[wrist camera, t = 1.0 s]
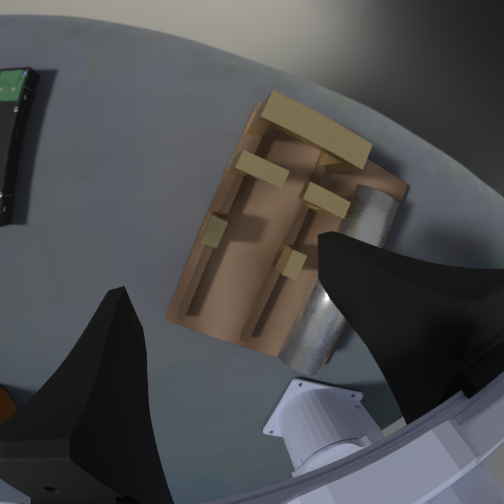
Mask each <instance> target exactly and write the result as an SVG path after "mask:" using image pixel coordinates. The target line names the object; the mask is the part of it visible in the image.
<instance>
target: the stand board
mask: <svg viewBox="0 0 504 504" xmlns="http://www.w3.org/2000/svg"><path fill="white" fill-rule="evenodd" d="M261 105H262V102H259V101H258V102H257V104H256V106H255V108H254V110H253V112H252V114H251V116H250V118H249V120H248V122H247V125H246V127H245V129H244V131H243V133H242V135H241V137H240V139H239V142H238V144H237V146H236V148H235V150H234V153H233V155H232V157H231V159H230V161H229V164H228V166H227V168H226V170H225V172H224V175H223V177H222V179H221V182H220V184H219V186H218V188H217V191H216V193H215V195H214V198H213V200H212V202H211V205H210V207H209V209H208V212H207V214H206V216H205V219H204V221H203V223H202V226H201V228H200V231H199V233H198V235H197V238H196V240H195V243H194V245H193V248H192V250H191V253H190V255H189V258H188V260H187V263H186V265H185V268H184V270H183V273H182V275H181V278H180V280H179V283H178V285H177V288H176V291H175V293H174V296H173V298H172V301H171V304H170V306H169V309H168V312H167V314H166V318H165V320H167V321H170V322H173V323H175V324H178V325H181V326H184V327H186V328H189V329H192V330H195V331H198V332H200V333H203V334H206V335H209V336H212V337H215V338H218V339H221V340H224V341H227V342H230V343H233V344H236V345H239V346H242V347H246V348H249V349H252V350H255V351H259V352H262V353H265V354H268V355H272V356H275V357H278V354H277V353H278V351H279V349H280V347H281V345H282V343H283V341H284V339H285V337H286V336H287V334H288V332H289V330H290V328H291V326H292V324H293V322H294V320H295V318H296V316H297V314H298V312H299V310H300V308H301V306H302V304H303V302H304V300H305V297H306V295H307V293H308V291H309V289H310V287H311V285H312V283H313V281H314V279H315V277H316V275H317V272H318V234H322V233H325V232H329V231H335V232H336V231H337V229H338V226H339V224H340V222H341V219H342V218H338V217H334V216H330V215H325V214H321V213H317V212H313V211H310V210H309V209H308V208H306V206H307V202H305V201H303V200H301V199H299V195H300V193H301V191H302V189H303V186H304V184H305V182H312V183H314V184H316V185H318V186H320V187H322V188H324V189H326V190H328V191H330V192H332V193H334V194H336V195H338V196H340V197H341V198H343V199H345V200H347V201H350V199H351V196H352V194H353V191H354V189H355V187H356V185H357V184H361V185H365V186H369V187H372V188H374V189H377V190H379V191H381V192H383V193H385V194H387V195H389V196H390V197H392V198H393V199H395V200H396V201H397V202H398V203H399V205H398V208H397V210H396V213H395V215H394V218H393V220H392V222H391V225H390V227H389V230H388V232H387V234H386V237H385V239H384V241H383V244H382V246H381V248H383V246H384V244H385V241H386V239H387V237H388V234H389V232H390V229H391V227H392V225H393V222H394V220H395V217H396V215H397V212H398V210H399V207H400V204H401V202H402V199H403V197H404V194H405V191H406V189H407V186H408V185H407V184H406V183H404V182H403V181H401V180H400V179H398V178H397V177H395V176H394V175H392V174H391V173H389V172H388V171H386V170H385V169H383V168H381V167H380V166H378V165H377V164H375V163H373V162H372V161H370V160H368V159H367V160H366V163H365V165H364V168H363V170H353V171H341V172H329V173H327V172H325V170H326V169H325V168H323V167H322V166H316V164H317V160H318V159H319V156H320V155H321V151H320V150H318V149H317V148H315V147H313V146H311V145H309V144H307V143H305V142H303V141H301V140H299V139H297V138H295V137H293V136H291V135H289V134H287V133H285V132H283V131H281V130H279V129H277V128H275V127H274V128H273V129H272V130H270V131H269V132H268V133H267V134H265V135H264V136H263V137H261V136H259V135H256V134H254V135H253V136H251V135H249V134H247V133H246V132H247V130H248V127H249V125H250V123H251V121H252V119H253V117H254V115H255V113H256V111H257V110H258V109H259V107H260V106H261ZM242 150H245V151H247V152H249V153H252V154H254V155H256V156H258V157H260V158H263V159H265V160H267V161H269V162H271V163H273V164H275V165H278V166H280V167H282V168H284V169H286V170H288V171H290V172H289V174H288V176H287V178H286V181H285V183H284V185H283V187H282V189H278V188H276V187H274V186H271V185H269V184H267V183H265V182H263V181H260V180H258V179H256V178H254V177H252V176H249V175H245V176H242V177H239V176H233V175H231V174H229V173H227V170H228V168H229V166H230V164H231V161H232V159H233V158H234V157H235V156H237V155H238V154H239V153H240V152H241V151H242ZM210 212H212V213H214V214H217V215H218V216H219V217H222V218H224V219H226V220H227V222H228V224H227V226H226V228H225V231H224V233H223V235H222V238H221V240H220V242H219V245H218V247H217V248H214V247H212V246H209V245H207V244H205V243H202V242H201V234H202V231H203V229H204V227H205V224H206V222H207V219H208V217H209V215H210ZM281 243H284V244H285V245H288V246H290V247H294V248H296V249H297V250H299V251H300V252H302V253H304V254H305V255H307V258H306V260H305V262H304V264H303V267H302V269H301V271H300V273H299V275H298V277H297V279H296V280H294V279H292V278H289V277H287V276H284V275H282V274H281V273H280V272H279V271H278V270H277V269H276V265H275V264H277V262H278V261H277V259H278V260H279V258H280V256H279V257H278V256H277V255H276V254H278V251H280V250H279V249H280V245H281ZM282 251H283V250H281V252H282ZM281 252H280V253H279V254H280V255H281ZM276 257H278V258H277V259H276V261H275V258H276ZM274 261H275V263H274ZM273 264H274V265H273ZM347 322H348V321H347V320H346V321H345V323H344V325H343V327H342V329H341V330H340V332H339V334H338V336H337V338H336V340H335V342H334V343H333V345H332V347H331V349H330V351H329V352H328V354H327V356H326V358H325V360H324V361H323V363H322V365H321V367H320V368H319V369H322V368H323V366H324V364H325V363H326V361H327V359H328V357H329V356H330V354H331V352H332V350H333V348H334V347H335V345H336V343H337V341H338V339H339V337H340V335H341V333H342V332H343V330H344V328H345V326H346V324H347Z"/></svg>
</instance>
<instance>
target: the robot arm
mask: <svg viewBox="0 0 504 504" xmlns="http://www.w3.org/2000/svg"><path fill="white" fill-rule="evenodd" d="M318 279H319V281H320V283H321V285H322V286H323V288H324V290H325V292H326V293H327V295H328V297H329V298H330V300H331V301H332V302H333V304H334V305H335V306H336V307H337V309H338V310H339V311H340V312H341V314H342V315H343V316H344V317H345V319H346V320H347V321H348V322H349V324H350V325H351V326H352V327H353V329H354V330H355V331H356V332H357V334H358V335H359V336H360V338H361V339H362V340H363V342H364V343H365V345H366V346H367V347H368V349H369V351H370V352H371V354H372V356H373V357H374V359H375V361H376V362H377V364H378V366H379V368H380V370H381V371H382V373H383V375H384V377H385V379H386V381H387V382H388V384H389V386H390V388H391V391H392V393H393V395H394V397H395V399H396V401H397V403H398V405H399V407H400V410H401V412H402V415H403V417H404V419H405V422H406V424H407V426H405V427H403V428H401V429H400V430H398V431H396V432H394V433H392V434H390V435H389V436H387V437H385V438H384V436H383V433H382V431H381V429H380V428H379V426H378V425H377V424H376V422H375V421H374V420H373V418H372V417H371V416H370V414H369V413H368V412H367V410H366V409H365V408H364V406H363V405H362V404H361V402H360V401H361V399H362V398H363V394H362V393H361V392H357V391H352V390H348V389H343V388H338V387H334V386H329V385H325V384H320V383H316V382H312V381H308V380H303V379H299V378H295V379H293V380H292V381H291V383H290V385H289V387H288V388H287V390H286V392H285V394H284V395H283V397H282V399H281V400H280V402H279V404H278V405H277V407H276V409H275V410H274V412H273V414H272V415H271V417H270V419H269V420H268V422H267V424H266V425H265V427H264V428H263V432H264V434H268V435H273V436H279V437H283V439H284V441H285V444H286V447H287V450H288V452H289V455H290V458H291V460H292V463H293V466H294V468H295V471H294V472H292V475H293V478H291V479H288V480H285V481H282V482H279V483H276V484H273V485H270V486H267V487H264V488H260V489H257V490H253V491H250V492H246V493H243V494H239V495H235V496H231V497H227V498H223V499H218V500H214V501H209V502H204V503H199V504H504V491H503V489H502V488H501V487H500V485H499V484H498V482H497V481H496V479H495V478H494V477H493V475H492V474H491V472H490V471H489V469H488V468H487V467H486V465H485V464H484V463H483V461H484V460H486V459H487V458H488V457H489V456H490V455H491V454H492V453H493V452H494V451H495V450H497V449H498V448H499V447H500V446H501V445H502V444H503V443H504V269H474V268H462V267H454V266H447V265H441V264H435V263H431V262H426V261H422V260H418V259H414V258H410V257H407V256H403V255H400V254H397V253H394V252H391V251H388V250H385V249H382V248H379V247H377V246H374V245H371V244H369V243H366V242H363V241H361V240H358V239H355V238H353V237H350V236H347V235H344V234H341V233H338V232H335V231H329V232H325V233H322V234H318ZM300 383H302V384H301V385H299V384H300ZM351 395H352V396H351ZM270 431H271V432H270ZM0 479H2V480H3V481H5V482H6V483H8V484H9V485H11V486H12V487H14V488H15V489H17V490H19V491H20V492H22V493H24V494H26V495H27V496H29V497H31V504H174V502H173V500H172V497H171V494H170V491H169V488H168V485H167V482H166V479H165V475H164V472H163V469H162V465H161V462H160V458H159V454H158V450H157V446H156V441H155V437H154V432H153V427H152V422H151V417H150V410H149V399H148V378H147V352H146V345H145V338H144V332H143V327H142V325H141V323H140V321H139V319H138V316H137V314H136V312H135V310H134V307H133V305H132V303H131V301H130V298H129V296H128V294H127V291H126V289H125V286H123V287H119V288H116V289H112V290H109V291H108V292H107V294H106V295H105V297H104V299H103V300H102V302H101V304H100V305H99V307H98V309H97V311H96V312H95V314H94V316H93V317H92V319H91V321H90V322H89V324H88V326H87V327H86V329H85V331H84V332H83V334H82V335H81V337H80V338H79V340H78V341H77V343H76V344H75V346H74V348H73V349H72V350H71V352H70V353H69V355H68V356H67V357H66V359H65V360H64V361H63V363H62V364H61V365H60V367H59V368H58V369H57V370H56V372H55V373H54V374H53V375H52V376H51V377H50V378H49V379H48V381H47V382H46V383H45V384H44V385H43V386H42V387H41V389H40V390H39V391H38V392H37V393H36V394H35V395H34V396H33V397H32V398H31V399H30V400H29V401H28V402H26V403H25V404H24V405H23V406H22V407H21V408H20V409H19V410H18V411H16V412H15V413H14V414H13V415H12V416H10V417H9V418H8V419H7V420H5V421H4V422H3V423H2V424H0ZM0 504H23V503H17V502H9V501H1V500H0Z"/></svg>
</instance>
